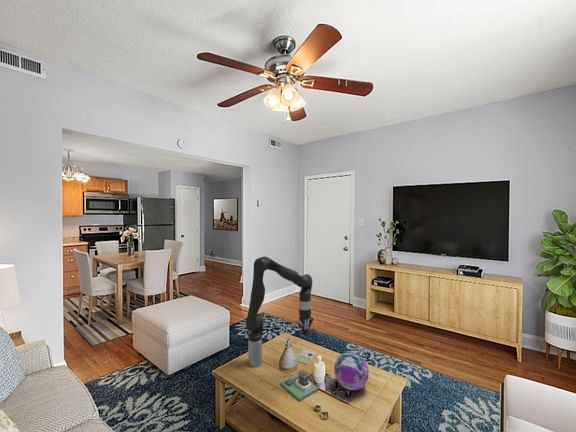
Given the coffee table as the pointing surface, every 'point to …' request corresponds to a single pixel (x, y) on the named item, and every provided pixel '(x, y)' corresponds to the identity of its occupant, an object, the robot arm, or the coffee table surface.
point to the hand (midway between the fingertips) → (304, 334)
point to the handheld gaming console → (305, 357)
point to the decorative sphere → (351, 371)
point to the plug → (303, 378)
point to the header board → (298, 387)
